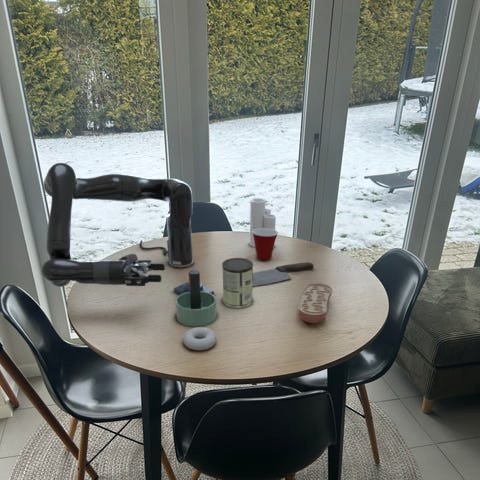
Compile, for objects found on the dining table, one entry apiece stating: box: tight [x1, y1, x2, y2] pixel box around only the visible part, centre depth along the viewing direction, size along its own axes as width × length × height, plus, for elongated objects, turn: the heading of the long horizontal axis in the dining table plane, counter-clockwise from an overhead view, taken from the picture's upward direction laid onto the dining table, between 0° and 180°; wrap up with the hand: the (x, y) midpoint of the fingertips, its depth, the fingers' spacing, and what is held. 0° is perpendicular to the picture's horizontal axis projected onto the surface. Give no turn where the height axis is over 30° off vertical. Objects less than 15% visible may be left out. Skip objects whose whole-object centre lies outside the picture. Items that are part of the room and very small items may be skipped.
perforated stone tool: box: [118, 253, 139, 265], centre depth 182 cm, size 15×5×7 cm, turn 163°
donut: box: [182, 326, 217, 351], centre depth 139 cm, size 10×4×10 cm
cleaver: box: [252, 261, 314, 287], centre depth 181 cm, size 30×10×2 cm, turn 116°
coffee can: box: [221, 257, 254, 309], centre depth 160 cm, size 10×10×14 cm
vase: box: [249, 197, 277, 248], centre depth 205 cm, size 11×7×20 cm, turn 77°
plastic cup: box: [252, 228, 279, 262], centre depth 194 cm, size 11×11×12 cm
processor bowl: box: [174, 291, 218, 327], centre depth 153 cm, size 13×13×6 cm
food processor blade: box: [185, 269, 203, 309], centre depth 150 cm, size 8×8×15 cm
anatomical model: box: [297, 282, 333, 324], centre depth 157 cm, size 23×10×5 cm, turn 164°
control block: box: [173, 281, 215, 296], centre depth 167 cm, size 12×8×4 cm
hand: (162, 272), depth 146 cm, fingers open, 8 cm apart
